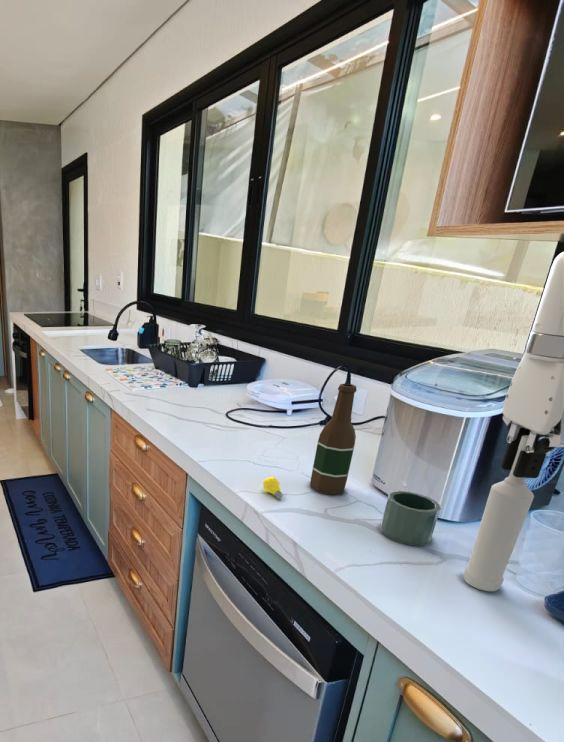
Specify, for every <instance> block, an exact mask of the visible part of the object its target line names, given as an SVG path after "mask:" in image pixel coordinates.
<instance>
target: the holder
mask: <svg viewBox="0 0 564 742" xmlns="http://www.w3.org/2000/svg"><path fill="white" fill-rule="evenodd" d="M440 511H441V504H439V503H438V502H437V501H436V500H435V499H434V498H433V499H432V498H431V497H428V496H426V495H424V494H420V493H416V492H412V491H401V490H398V491H392V492H390V493H389V494H388V495H387V500H386V504H385V508H384V512H383V516H382V518H381V523H380V531H381V533H382V534H383V535H384V536H386V537H387V538H389V539H391V540H393V541H395V542H398V543H401V544H403V545H409V546H416V547H417V546H418V547H419V546H426V545H428V544H429V543H430V542H431V540H432V537H433V535H434V531H435V527H436V524H437V521H438V517H439V514H440Z"/></svg>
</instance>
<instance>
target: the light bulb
mask: <svg viewBox="0 0 564 742" xmlns="http://www.w3.org/2000/svg"><path fill="white" fill-rule="evenodd" d="M262 487H263V490H264V491H266V492H267V493H270V494H272V495H273V496H275V497H276V499H280V500H281V499H282V498H283V496H284V495H283V492H282V489H281V488H280V481H279V480H278V479H277V478H276V477H275V476H269V477H266V478H265V479H264V480H263V482H262Z"/></svg>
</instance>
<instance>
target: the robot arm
mask: <svg viewBox="0 0 564 742" xmlns="http://www.w3.org/2000/svg"><path fill="white" fill-rule="evenodd" d="M552 262H553V263H552V264H551V267H550V269H549V274H548V277H547V280H546V283H545V287H544V289H543V292H542V296H541V298H540V302H539V306H538V309H537V312H536V315H535V318H534V320H533V325H532V328H531V331H530V334H529V336H528V340H527V343H526V345H525V346H526V347H525V349H524V352H523V356H522V358H521V360H520V362H519V364H518V365H517V368H516V370H515V371H514V375H513V377H512V378H511V382H510V384H509V387H508V390H507V392H506V395H505V397H504V403H503V407H502V421H503V423H505V425H506V426H507V431H508V433H507V437H506V442H507V446H506V449H505V453H504V456H503V459H502V462H501V464H500V468H501V469H502V470H504V471H511V469H512V466H513V463H514V460H515V457H516V454H517V451H518V447H519V444H520V441H521V438H522V436H523V435H528V436H529V438H528V441H527V444H526V447H525V451H524V450H521V451H520V454H519V457H518V459H517V462H516V465H515V468H514V471H513V475H514V476H515V477H520V478H526V479H538V478H539V476H540V474H541V471H542V468H543V465H544V462H545V459H546V457H547V455H549V454H551V453H552V451H553V450H554V449H557V448H564V251H562V252H560V253H559V254H558V255H557V256H556V257H555V258H554V260H553V261H552ZM538 439H540V440H539V441H538Z"/></svg>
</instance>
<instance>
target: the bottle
mask: <svg viewBox="0 0 564 742" xmlns="http://www.w3.org/2000/svg"><path fill="white" fill-rule="evenodd" d="M528 438H529V436H528V435H523V436H522V438H521V441H520V444H519V447H518V451H517V454H516V457H515V460H514V463H513V466H512V469H511V470H510V472H509V475H508V476H506V477H505V478H504V480H501V481H499V482H497V483H494V484H492V485H491V488H490V491H489V494H488V497H487V500H486V503H485V507H484V510H483V514H482V517H481V520H480V524H479V528H478V531H477V534H476V537H475V541H474V544H473V548H472V552H471V554H470V557H469V561H468V564H467V565H466V566H465V567H464V570H463V580H464V581H465V582H466V583H467V584H468V585H469V586H471V587H473V588H476V589H478V590H481V591H485V592H496V591H498V590H499V589H500V588H501V586H502V585H503V582H504V580H505V579H504V576H503V575H504V574H505V571H506V568H507V566H508V564H509V561H510V559H511V556H512V554H513V551H514V549H515V546H516V544H517V541H518V538H519V536H520V533H521V532H522V531H521V530H522V528H523V526H524V524H525V521H526V518H527V516H528V513H529V510H530V509H531V505H532V503H533V500H534V498H535V495H534V493H533V492H532V491H531V490H530V488H529V486H527V485H528V482H527V481H526V479H527V478H520V477H515V476H514V475H513V471H514V468H515V465H516V462H517V459H518V457H519V454H520V451H521V450H524V451H525V447H526V444H527V441H528ZM539 440H541V438H539V439H538V441H539Z"/></svg>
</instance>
